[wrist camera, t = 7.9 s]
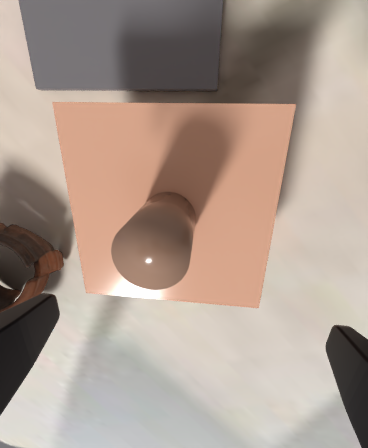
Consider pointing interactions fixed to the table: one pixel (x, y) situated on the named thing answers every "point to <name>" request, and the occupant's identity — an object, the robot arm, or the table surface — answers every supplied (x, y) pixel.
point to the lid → (174, 196)
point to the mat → (123, 44)
